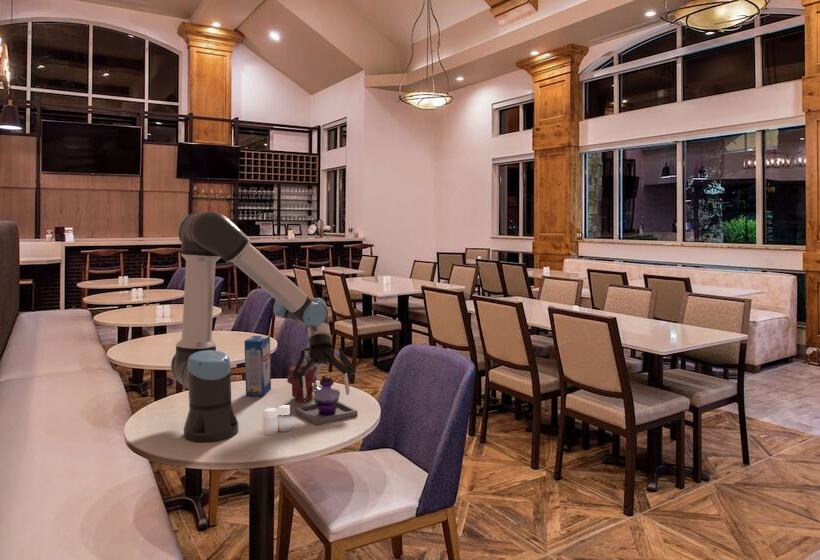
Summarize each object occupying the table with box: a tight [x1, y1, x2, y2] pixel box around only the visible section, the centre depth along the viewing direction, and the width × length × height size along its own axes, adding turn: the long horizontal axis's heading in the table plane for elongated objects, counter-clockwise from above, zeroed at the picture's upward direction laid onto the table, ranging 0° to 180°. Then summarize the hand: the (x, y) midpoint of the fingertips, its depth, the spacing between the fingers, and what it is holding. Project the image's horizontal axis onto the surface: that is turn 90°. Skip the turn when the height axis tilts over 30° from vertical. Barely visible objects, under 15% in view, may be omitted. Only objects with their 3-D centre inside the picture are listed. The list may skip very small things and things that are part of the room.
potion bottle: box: [313, 375, 341, 416], centre depth 189 cm, size 9×9×12 cm
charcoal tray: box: [294, 400, 358, 426], centre depth 190 cm, size 15×15×2 cm
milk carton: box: [244, 335, 272, 398], centre depth 213 cm, size 10×6×20 cm, turn 178°
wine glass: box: [303, 346, 324, 390], centre depth 219 cm, size 8×8×15 cm
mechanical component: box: [286, 363, 318, 403], centre depth 205 cm, size 12×10×10 cm
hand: (326, 394), depth 187 cm, fingers open, 13 cm apart
